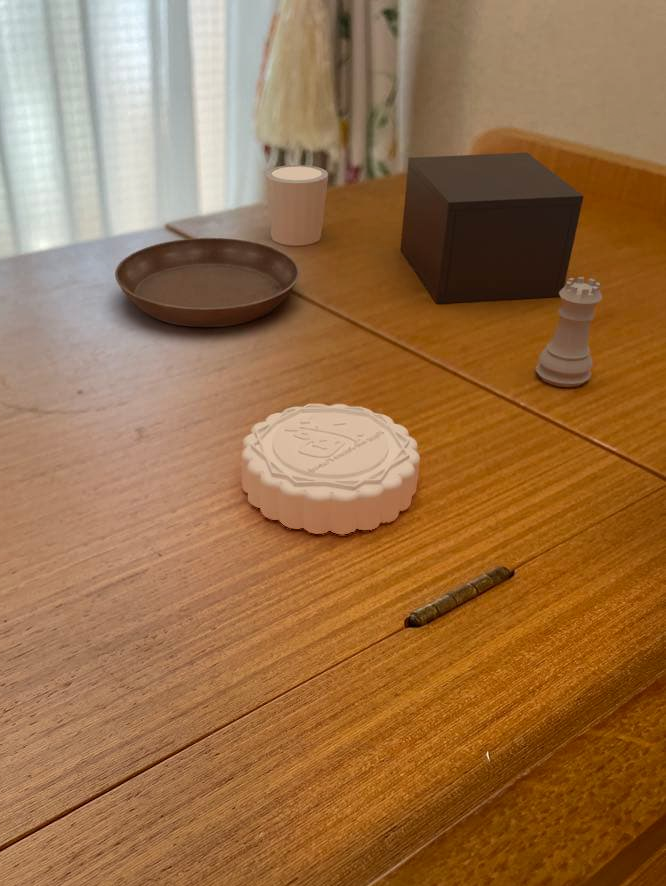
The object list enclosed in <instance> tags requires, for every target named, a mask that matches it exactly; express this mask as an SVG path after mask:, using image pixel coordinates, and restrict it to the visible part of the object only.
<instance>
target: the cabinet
mask: <svg viewBox="0 0 666 886" xmlns="http://www.w3.org/2000/svg"><path fill="white" fill-rule="evenodd" d="M407 162H408V163H407V173H406V183H405V195H404V196H405V197H404V206H403V216H402V228H401V239H400V249H399V250H400V252H401V253H402V255H403V256H404V258H405V259H406V260H407V262H408V263H409V265H410V266H411V268H412V269H413V271H414V272H415V275H416V276H417V277H418V278H419V280H420V282H421V283H422V285H423V286H424V287H425V289H426V290H427V292H428V294H429V295H430V296H431V298H432V299H433V301H434V302H435V303H436V305H441V304H456V303H457V304H459V303H476V302H493V301H494V302H495V301H510V300H527V299H544V298H561V297H560V295H559V292H560V291H561V289H563V288H564V287H565V286H566V280H567V275H568V270H569V267H570V266H569V265H570V261H571V257H572V252H573V247H574V242H575V238H576V234H577V228H578V224H579V220H580V214H581V210H582V205H583V203H584V202H583V201H584V197H585V195H584V194H582V193H581V192H579V190H577V189H575V188H574V187H573V186H571V185H570V184H569V183H568V182H566V181H565V180H564V179H562V178H561V177H560V176H558V175H557V174H556V173H554V172H553V171H552V170H550V168H548V167H546V166H545V165H544V164H543V163H541V162H540V161H539V160H537V159H536V158H535V157H533V156H532V155H531V154H530V153H528V152H510V153H486V154H463V155H461V154H460V155H441V156H439V155H438V156H417V157H415V156H413V157H408V161H407Z"/></svg>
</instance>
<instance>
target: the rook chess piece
mask: <svg viewBox="0 0 666 886" xmlns="http://www.w3.org/2000/svg"><path fill="white" fill-rule="evenodd" d="M584 280H585V277H584V276H577V278H576V282H575V278H574V277H570V278H568V279H567V281H566V280H565V285H564V288H563V289H561V291H560V292H559V295H560V297H559V298H560V299H561V301H562V305H561V307H560V308H559V309H558V310H557V313H558V316H559V317H558V321H557V325H556V328H555V331H554V333H553V336H552V339H551V340H550V342H548V343H547V344H546V347H545V348H543V350H542V351H541V352H540V354H539V356H538V361H539V362H538V363H537V364H536V366H535V371H536V373H537V375H538V377H539V378H540V379H541V381H543V382H545V383H547V384H548V385H551V386H555V387H560V388H573V387H574V388H575V387H576V388H577V387H580V386H581V385H584V384H585V383H587V382H588V381H589V380H590V379H591V377H592V372H591V369H592V368H593V366H594V360H593V357H592V355H591V349H590V347H589V337H590V327H591V323H592V321H593V319H594V318H595V317H596V314H595V312H594V308H595V306H596V305H598V304H599V303H600V302H601V301H602V300H603V297H604V296H603V295H602V293H601V291H600V288H601V283H600V282H597V280H596V279H593V278H589V279H588V282H587V283H585V282H584Z"/></svg>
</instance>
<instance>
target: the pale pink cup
mask: <svg viewBox="0 0 666 886" xmlns="http://www.w3.org/2000/svg"><path fill="white" fill-rule="evenodd" d="M328 180H329V173H328V170H326V169H323V168H321V167H318V166H314V165H307V164H306V165H305V164H287V165H280V166H276V167H273V168H270V169H268V170H267V171H266V172H265V184H266V194H267V205H268V214H269V215H268V216H269V225H270V237H271V240H272V241H274V242H275V243H277V244H280V245H284V246H291V247H292V246H293V247H296V246H297V247H301V246H308V245H313V244H315V243H317V242H319V241H320V239H321V237H322V230H323V224H324V223H323V222H324V216H325V215H324V214H325V206H326V199H327V190H328V183H329V181H328Z"/></svg>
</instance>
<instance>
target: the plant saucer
mask: <svg viewBox="0 0 666 886" xmlns="http://www.w3.org/2000/svg"><path fill="white" fill-rule="evenodd" d="M300 274H301V273H300V268H299V265H298V263H297V262H296V261H295V260H294V259H293V258H292V257H291V256H290V255H288V254H287V253H285V252H284V251H281V250H279V249H277V248H275V247H272V246H269V245H266V244H262V243H258V242H254V241H249V240H243V239H236V238H223V237H195V238H194V237H193V238H185V239H176V240H171V241H165V242H160V243H156V244H154V245H153V244H152V245H150V246H146V247H143V248H142V249H139V250H137V251H134V252H133V253H131V254H129V255H127V256H126V257H125V258H123V259H122V260H121V261H120V262H119V263H118V265H117V267H116V269H115V273H114V277H115V281H116V283H117V284H118V286H119V287H120V289H121V290H122V292H123V293H124V294H125V295H126V297H127V298H128V299H129V300H130V301H131V302H132V303H133V304H134V305H136V306H137V307H138V309H140V311H142V312H143V313H145V314H147V315H148V316H150V317H152V318H153V319H157V320H159V321H162V322H166V323H168V324H172V325H178V326H183V327H184V326H185V327H193V328H194V327H195V328H219V327H228V326H235V325H240V324H244V323H248V322H251V321H254V320H257V319H259V318H261V317H264V316H266V315H267V314H269V313H271V312H272V311H273V310H274V309H275V308H277V307H278V306H279V305H280V304H281V303H282V302H283V301H284V300H285V298H286V297H287V296H288V295H289V294H290V293H291V291H292V290H293V288H294V287H295V286H296V284H297V282H298V280H299V277H300Z"/></svg>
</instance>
